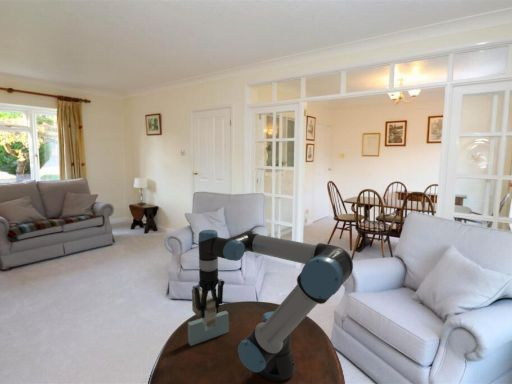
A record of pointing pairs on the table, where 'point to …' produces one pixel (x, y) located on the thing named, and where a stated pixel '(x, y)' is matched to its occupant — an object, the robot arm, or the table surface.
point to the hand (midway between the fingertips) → (209, 322)
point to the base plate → (207, 329)
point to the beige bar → (209, 307)
